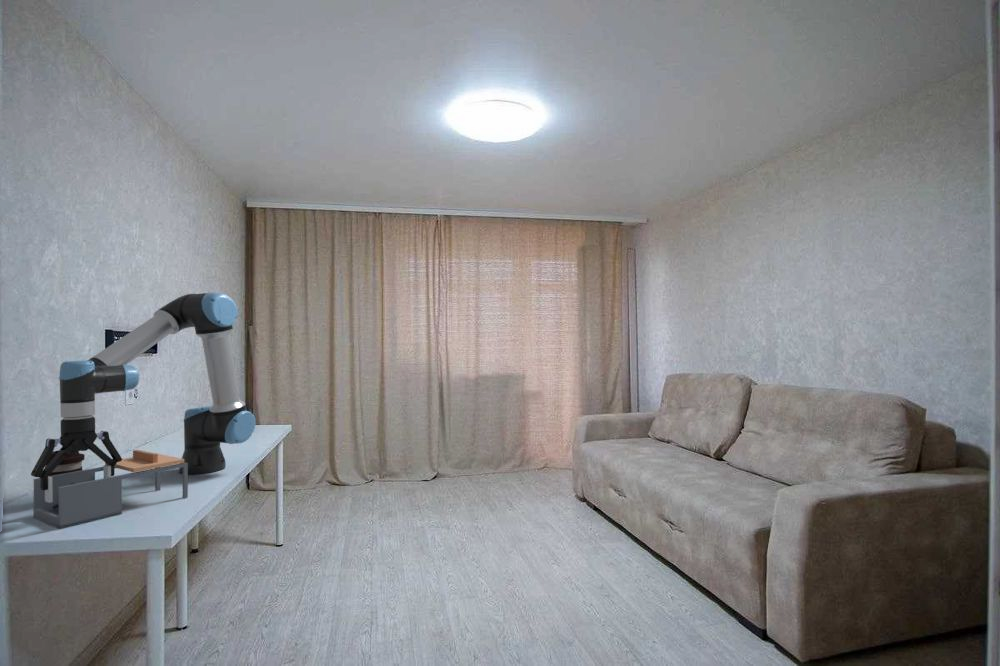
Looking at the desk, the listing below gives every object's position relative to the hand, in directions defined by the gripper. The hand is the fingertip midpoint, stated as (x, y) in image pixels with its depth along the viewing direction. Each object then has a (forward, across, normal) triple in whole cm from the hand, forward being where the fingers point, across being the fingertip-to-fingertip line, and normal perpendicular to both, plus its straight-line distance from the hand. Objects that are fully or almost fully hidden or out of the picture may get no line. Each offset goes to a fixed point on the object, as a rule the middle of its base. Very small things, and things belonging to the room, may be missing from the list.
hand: (79, 495), depth 150 cm
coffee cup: (+6, -3, -19) cm, 20 cm away
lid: (-5, -17, 0) cm, 17 cm away
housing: (+6, -9, 0) cm, 10 cm away
